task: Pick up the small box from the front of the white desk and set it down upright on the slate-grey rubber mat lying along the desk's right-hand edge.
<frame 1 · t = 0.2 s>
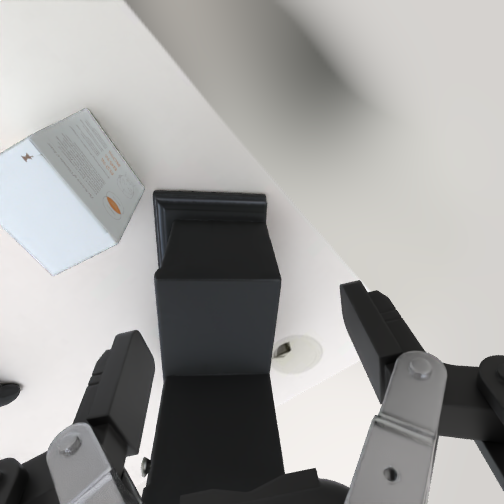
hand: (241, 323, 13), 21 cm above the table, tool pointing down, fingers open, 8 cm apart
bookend: (210, 288, 38), on the table
small box: (94, 164, 30), on the table
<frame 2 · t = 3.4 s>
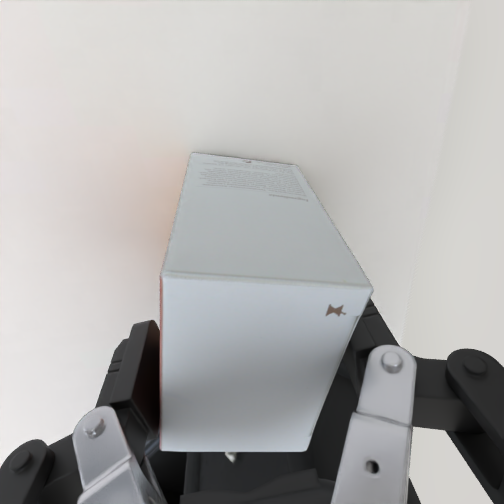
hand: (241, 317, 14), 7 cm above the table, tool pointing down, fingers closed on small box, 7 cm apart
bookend: (235, 408, 28), on the table
small box: (236, 224, 19), on the table, touching gripper
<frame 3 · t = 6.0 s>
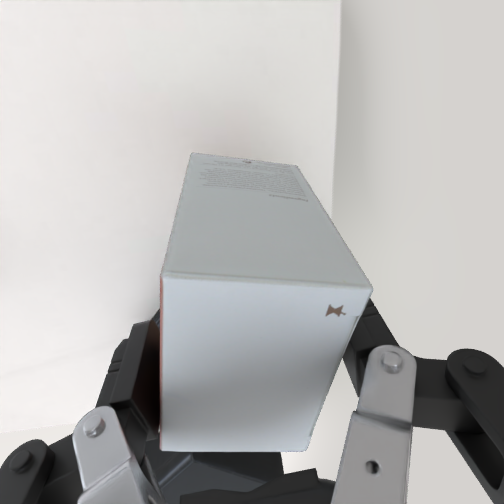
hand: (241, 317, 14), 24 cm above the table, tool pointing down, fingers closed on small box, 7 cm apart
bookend: (225, 290, 42), on the table
small box: (236, 225, 19), point 16 cm above the table, touching gripper
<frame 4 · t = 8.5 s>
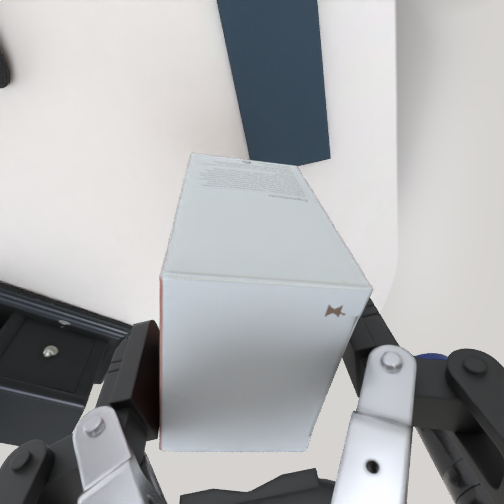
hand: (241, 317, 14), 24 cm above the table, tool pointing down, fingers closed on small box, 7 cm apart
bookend: (30, 322, 43), on the table
small box: (236, 225, 19), point 17 cm above the table, touching gripper
side mat: (273, 43, 29), on the table
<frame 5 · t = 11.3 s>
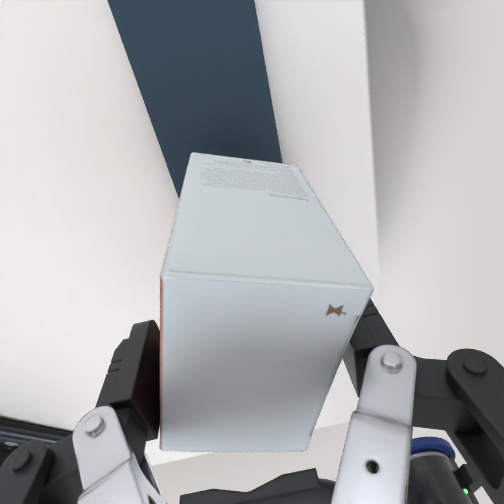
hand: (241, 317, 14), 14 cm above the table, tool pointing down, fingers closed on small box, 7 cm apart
small box: (236, 224, 19), point 7 cm above the table, touching gripper
side mat: (226, 168, 25), on the table
when the fingers open (8 cm above the table, at t = 13.5 s): small box stays where it is, resting on side mat.
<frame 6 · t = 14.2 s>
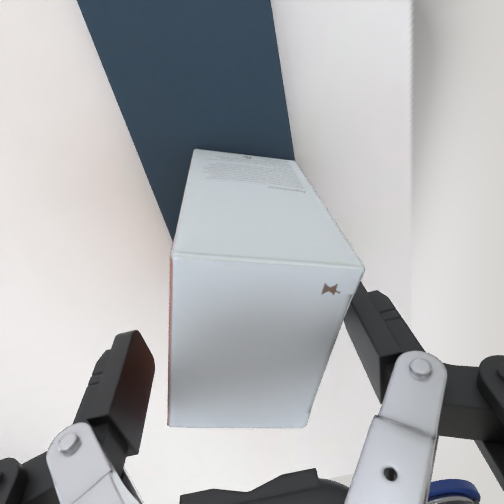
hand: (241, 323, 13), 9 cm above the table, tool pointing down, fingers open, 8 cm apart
small box: (237, 218, 20), resting on side mat
side mat: (230, 199, 20), on the table
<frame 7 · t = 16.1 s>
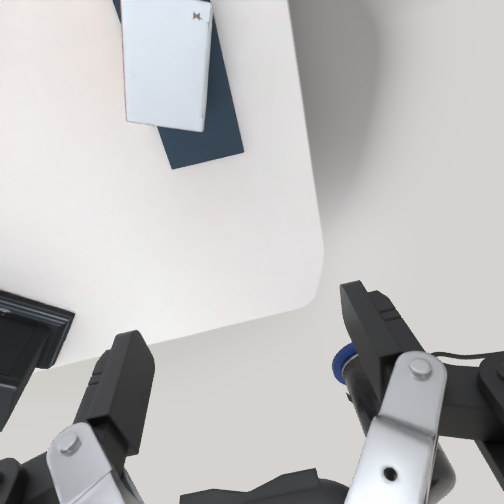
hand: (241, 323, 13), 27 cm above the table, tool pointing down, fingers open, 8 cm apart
small box: (179, 57, 31), resting on side mat
side mat: (174, 43, 31), on the table
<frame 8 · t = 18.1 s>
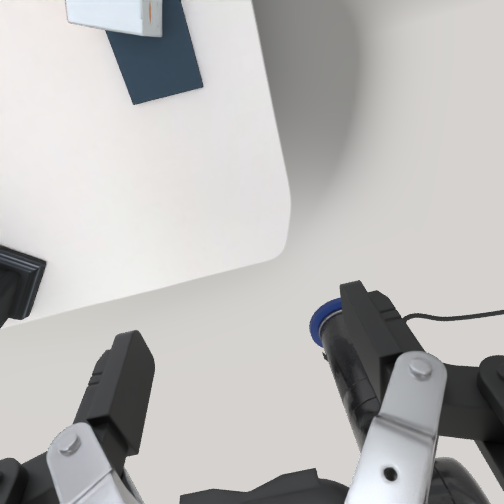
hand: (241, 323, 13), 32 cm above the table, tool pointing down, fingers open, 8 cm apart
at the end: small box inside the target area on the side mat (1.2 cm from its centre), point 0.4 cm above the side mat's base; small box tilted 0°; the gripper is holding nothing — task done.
